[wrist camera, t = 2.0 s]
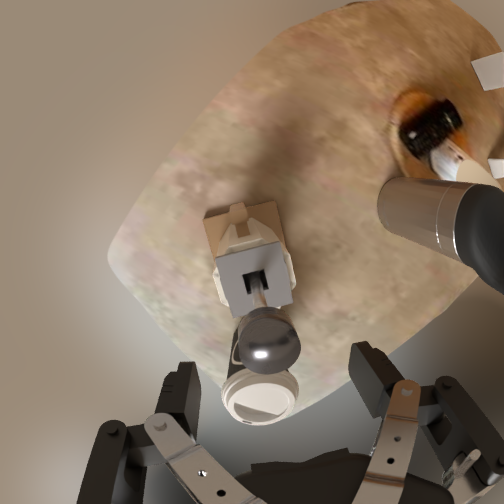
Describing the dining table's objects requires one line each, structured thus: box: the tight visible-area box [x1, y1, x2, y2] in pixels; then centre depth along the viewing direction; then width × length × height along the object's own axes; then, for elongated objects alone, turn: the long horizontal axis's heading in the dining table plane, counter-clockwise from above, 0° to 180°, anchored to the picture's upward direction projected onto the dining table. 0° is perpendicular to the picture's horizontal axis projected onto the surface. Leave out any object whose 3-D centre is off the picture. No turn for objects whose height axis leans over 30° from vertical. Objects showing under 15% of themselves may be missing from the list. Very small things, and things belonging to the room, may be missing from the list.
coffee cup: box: [221, 329, 299, 425], centre depth 35 cm, size 10×10×15 cm
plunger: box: [238, 269, 301, 375], centre depth 21 cm, size 5×5×14 cm
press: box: [203, 201, 296, 318], centre depth 31 cm, size 10×11×15 cm
